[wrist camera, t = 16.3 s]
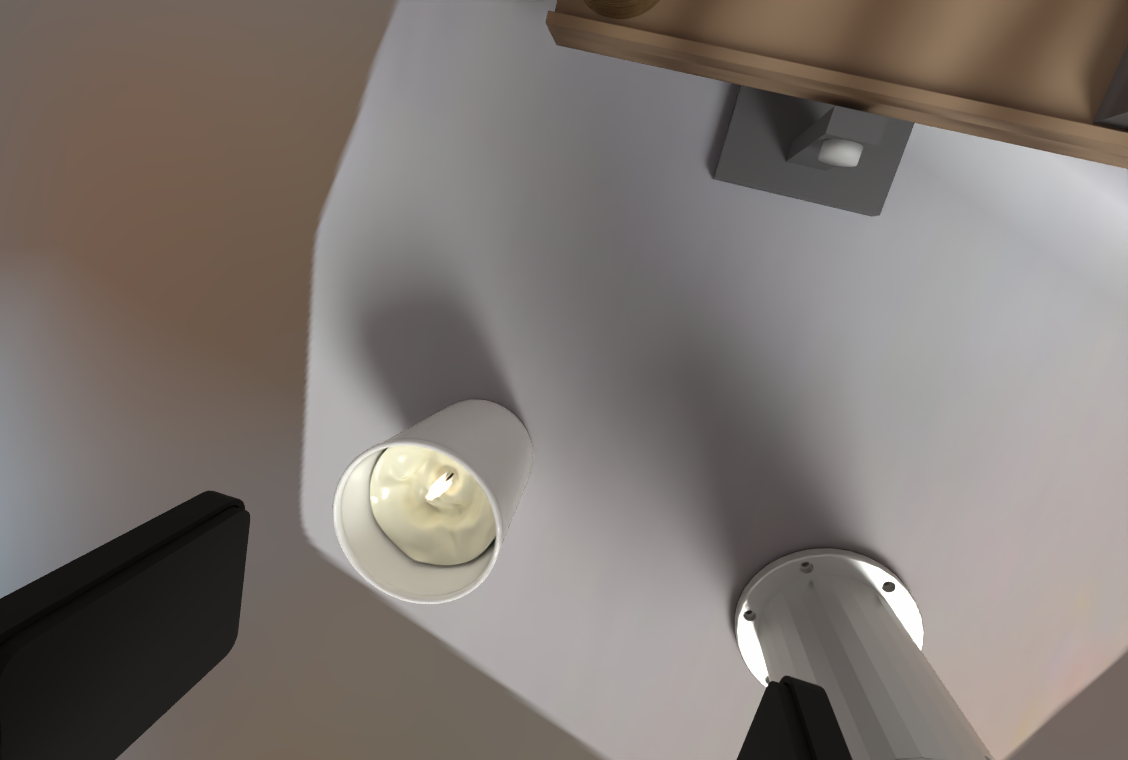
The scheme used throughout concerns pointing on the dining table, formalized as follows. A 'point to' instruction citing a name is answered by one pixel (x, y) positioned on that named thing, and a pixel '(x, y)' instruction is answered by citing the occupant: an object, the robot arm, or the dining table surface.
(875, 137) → the beam stand
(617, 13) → the brass weight
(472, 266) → the dining table surface
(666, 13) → the balance beam
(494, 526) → the candle holder
